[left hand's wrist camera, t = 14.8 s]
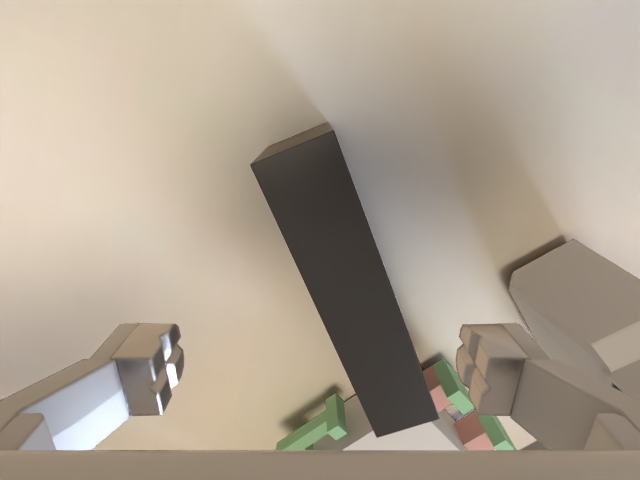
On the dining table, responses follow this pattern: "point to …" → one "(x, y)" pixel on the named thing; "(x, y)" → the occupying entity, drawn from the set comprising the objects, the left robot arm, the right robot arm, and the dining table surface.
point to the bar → (345, 276)
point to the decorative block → (443, 434)
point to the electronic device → (583, 313)
